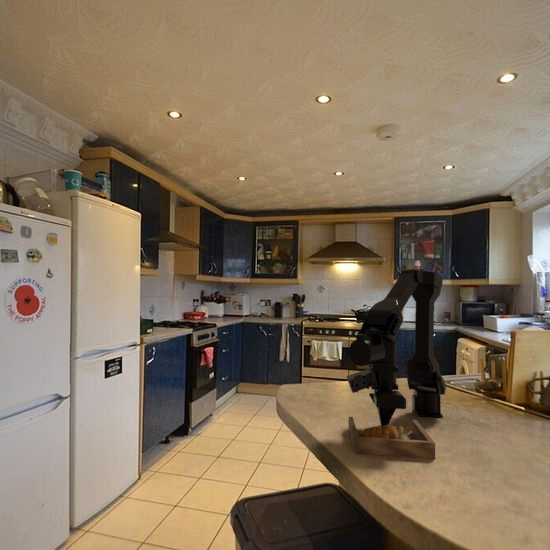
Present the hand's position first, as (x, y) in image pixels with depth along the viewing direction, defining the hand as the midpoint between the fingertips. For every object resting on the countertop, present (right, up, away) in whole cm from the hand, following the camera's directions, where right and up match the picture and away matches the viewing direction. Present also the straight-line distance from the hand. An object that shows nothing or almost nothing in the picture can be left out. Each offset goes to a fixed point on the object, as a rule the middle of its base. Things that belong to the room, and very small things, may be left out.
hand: (383, 428), depth 84 cm
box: (0, -1, -4) cm, 4 cm away
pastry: (-1, -2, -4) cm, 5 cm away
